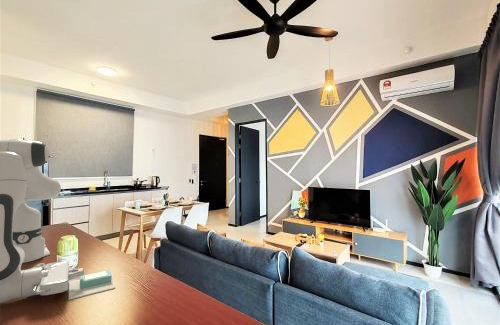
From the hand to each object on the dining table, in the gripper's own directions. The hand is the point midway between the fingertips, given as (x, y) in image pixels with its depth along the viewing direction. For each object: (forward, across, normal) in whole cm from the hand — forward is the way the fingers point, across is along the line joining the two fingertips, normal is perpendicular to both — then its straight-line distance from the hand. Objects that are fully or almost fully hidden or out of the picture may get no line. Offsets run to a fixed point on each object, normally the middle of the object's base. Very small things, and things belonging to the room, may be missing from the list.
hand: (83, 271), depth 91 cm
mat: (+3, -1, +6) cm, 6 cm away
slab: (-1, 0, +4) cm, 4 cm away
